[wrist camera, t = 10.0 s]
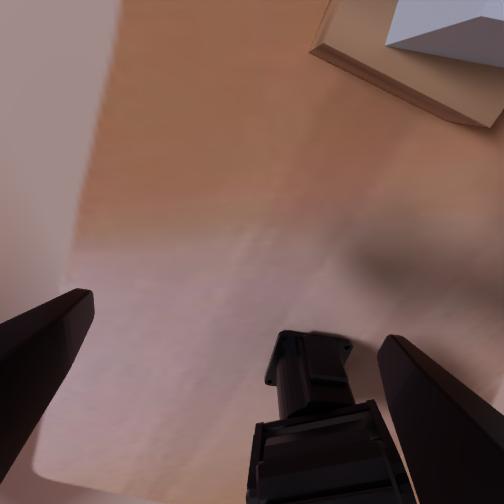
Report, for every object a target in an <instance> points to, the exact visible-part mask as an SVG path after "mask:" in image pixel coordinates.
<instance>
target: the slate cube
mask: <svg viewBox="0 0 504 504" xmlns="http://www.w3.org/2000/svg"><path fill="white" fill-rule="evenodd" d="M385 46H389V47H395V48H400V49H405V50H411V51H416V52H421V53H427V54H432V55H437V56H443V57H448V58H453V59H459V60H464V61H469V62H474V63H480V64H485V65H490V66H496V67H501V68H504V0H398V4H397V7H396V10H395V13H394V17H393V20H392V23H391V27H390V30H389V33H388V37H387V40H386V43H385Z"/></svg>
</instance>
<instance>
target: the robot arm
mask: <svg viewBox="0 0 504 504" xmlns="http://www.w3.org/2000/svg"><path fill="white" fill-rule="evenodd" d="M94 314H95V310H94V297H93V292H92V291H91V290H87V289H80V288H76V289H73V290H71V291H69V292H67V293H65V294H63V295H61V296H58V297H56V298H54V299H52V300H50V301H48V302H46V303H44V304H41V305H39V306H37V307H35V308H33V309H31V310H29V311H27V312H25V313H22V314H20V315H18V316H16V317H14V318H12V319H10V320H7V321H5V322H3V323H1V324H0V484H1V483H2V481H3V479H4V478H5V476H6V474H7V473H8V471H9V469H10V467H11V466H12V464H13V463H14V461H15V460H16V458H17V456H18V455H19V453H20V451H21V450H22V448H23V446H24V445H25V443H26V441H27V440H28V438H29V436H30V435H31V433H32V431H33V430H34V428H35V427H36V425H37V423H38V422H39V420H40V418H41V417H42V415H43V413H44V412H45V410H46V408H47V407H48V405H49V403H50V402H51V400H52V398H53V397H54V395H55V394H56V392H57V390H58V389H59V387H60V385H61V384H62V382H63V380H64V379H65V377H66V375H67V374H68V372H69V370H70V368H71V366H72V364H73V362H74V360H75V358H76V356H77V354H78V352H79V349H80V347H81V345H82V343H83V341H84V339H85V336H86V334H87V332H88V330H89V328H90V326H91V324H92V321H93V319H94ZM283 337H285V338H283ZM352 348H353V346H352V343H351V341H349V340H344V339H337V338H330V337H323V336H316V335H309V334H302V333H295V332H288V331H282V332H280V333H279V334H278V337H277V340H276V343H275V347H274V350H273V353H272V356H271V359H270V362H269V365H268V368H267V372H266V375H265V384H266V385H270V386H277V395H278V406H279V417H280V420H277V421H273V422H268V423H263V422H261V423H256V427H255V435H254V436H253V443H252V451H251V459H250V467H249V475H248V483H247V493H246V504H417V502H416V499H415V496H414V493H413V490H412V487H411V484H410V481H409V478H408V476H407V473H406V470H405V468H404V465H403V462H402V460H401V457H400V455H399V453H398V450H397V448H396V446H395V444H394V441H393V439H392V437H391V435H390V433H389V431H388V428H387V426H386V424H385V422H384V420H383V418H382V415H381V413H380V411H379V409H378V407H377V404H376V402H375V400H374V399H372V400H367V401H366V402H365V403H360V404H356V403H355V400H354V397H353V394H352V391H351V388H350V385H349V382H348V376H347V373H346V371H345V368H344V365H345V363H346V361H347V359H348V356H349V354H350V352H351V350H352ZM377 360H378V365H379V369H380V374H381V378H382V383H383V387H384V392H385V396H386V400H387V404H388V408H389V411H390V415H391V418H392V421H393V424H394V427H395V430H396V433H397V436H398V439H399V442H400V445H401V448H402V451H403V454H404V457H405V460H406V463H407V466H408V469H409V472H410V475H411V478H412V481H413V484H414V488H415V491H416V494H417V497H418V500H419V503H420V504H504V415H502V414H501V413H500V412H498V411H497V410H496V409H495V408H493V407H492V406H491V405H490V404H488V403H487V402H486V401H485V400H483V399H482V398H481V397H479V396H478V395H477V394H476V393H474V392H473V391H472V390H471V389H469V388H468V387H467V386H465V385H464V384H463V383H462V382H460V381H459V380H458V379H457V378H455V377H454V376H453V375H451V374H450V373H449V372H448V371H446V370H445V369H444V368H443V367H441V366H440V365H439V364H437V363H436V362H435V361H434V360H432V359H431V358H430V357H429V356H427V355H426V354H425V353H424V352H422V351H421V350H420V349H418V348H417V347H416V346H415V345H413V344H412V343H411V342H410V341H408V340H407V339H406V338H404V337H403V336H400V335H393V334H390V335H388V336H387V337H386V339H385V340H384V342H383V344H382V346H381V348H380V349H379V351H378V354H377Z"/></svg>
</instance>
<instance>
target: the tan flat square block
mask: <svg viewBox="0 0 504 504" xmlns="http://www.w3.org/2000/svg"><path fill="white" fill-rule="evenodd" d="M397 4H398V0H330V1H329V4H328V6H327V8H326V11H325V13H324V16H323V18H322V21H321V23H320V26H319V28H318V30H317V33H316V35H315V38H314V40H313V43H312V45H311V48H310V50H309V53H311V54H313V55H315V56H317V57H319V58H321V59H323V60H325V61H327V62H329V63H331V64H333V65H335V66H337V67H339V68H341V69H343V70H345V71H347V72H349V73H351V74H353V75H355V76H357V77H359V78H361V79H363V80H365V81H367V82H369V83H371V84H373V85H375V86H377V87H379V88H381V89H383V90H385V91H387V92H389V93H391V94H393V95H395V96H397V97H399V98H401V99H403V100H405V101H407V102H409V103H411V104H413V105H415V106H417V107H419V108H421V109H423V110H425V111H427V112H429V113H431V114H433V115H435V116H437V117H439V118H441V119H443V120H445V121H449V122H456V123H462V124H468V125H474V126H481V127H487V128H490V127H491V126H492V124H493V123H494V121H495V120H496V119H497V117H498V116H499V115H500V113H501V112H502V110H503V109H504V68H501V67H496V66H490V65H485V64H480V63H474V62H469V61H464V60H459V59H453V58H448V57H443V56H437V55H432V54H427V53H421V52H416V51H411V50H405V49H400V48H395V47H389V46H385V43H386V40H387V37H388V33H389V30H390V27H391V23H392V20H393V17H394V13H395V10H396V7H397Z"/></svg>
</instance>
